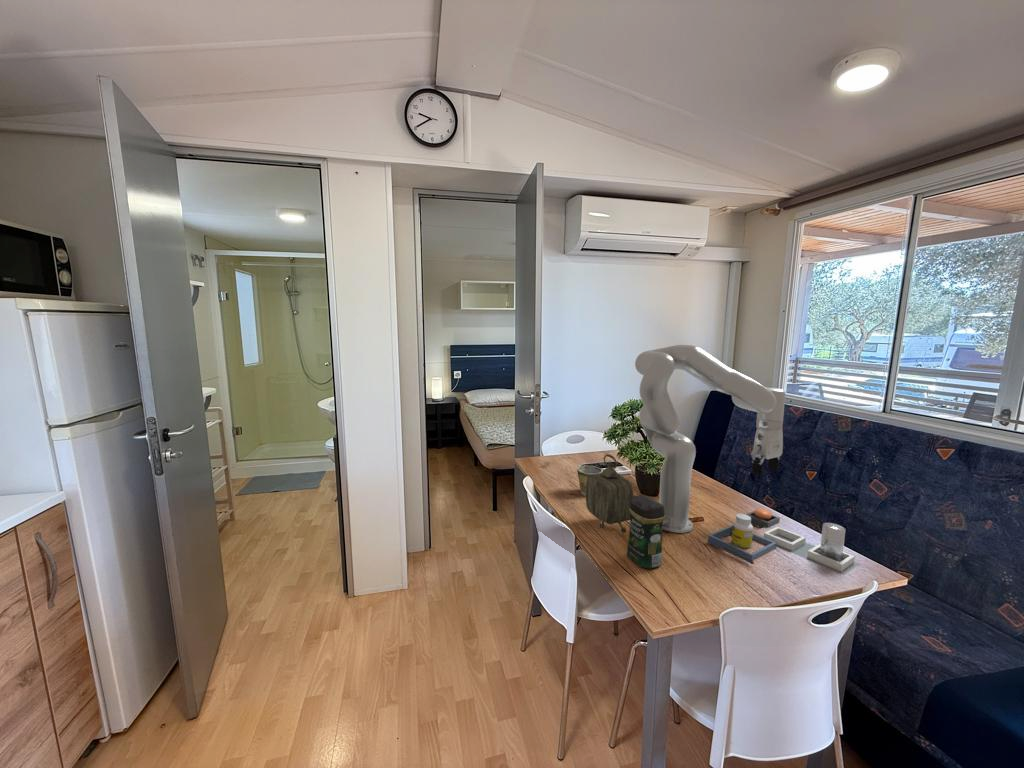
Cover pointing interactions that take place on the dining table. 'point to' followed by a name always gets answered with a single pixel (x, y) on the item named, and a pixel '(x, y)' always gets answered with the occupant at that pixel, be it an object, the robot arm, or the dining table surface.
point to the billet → (832, 541)
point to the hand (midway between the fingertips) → (765, 472)
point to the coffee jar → (645, 531)
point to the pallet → (808, 550)
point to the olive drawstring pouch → (609, 496)
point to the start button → (762, 514)
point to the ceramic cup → (586, 475)
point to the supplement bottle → (742, 531)
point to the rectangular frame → (716, 541)
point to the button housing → (763, 520)
